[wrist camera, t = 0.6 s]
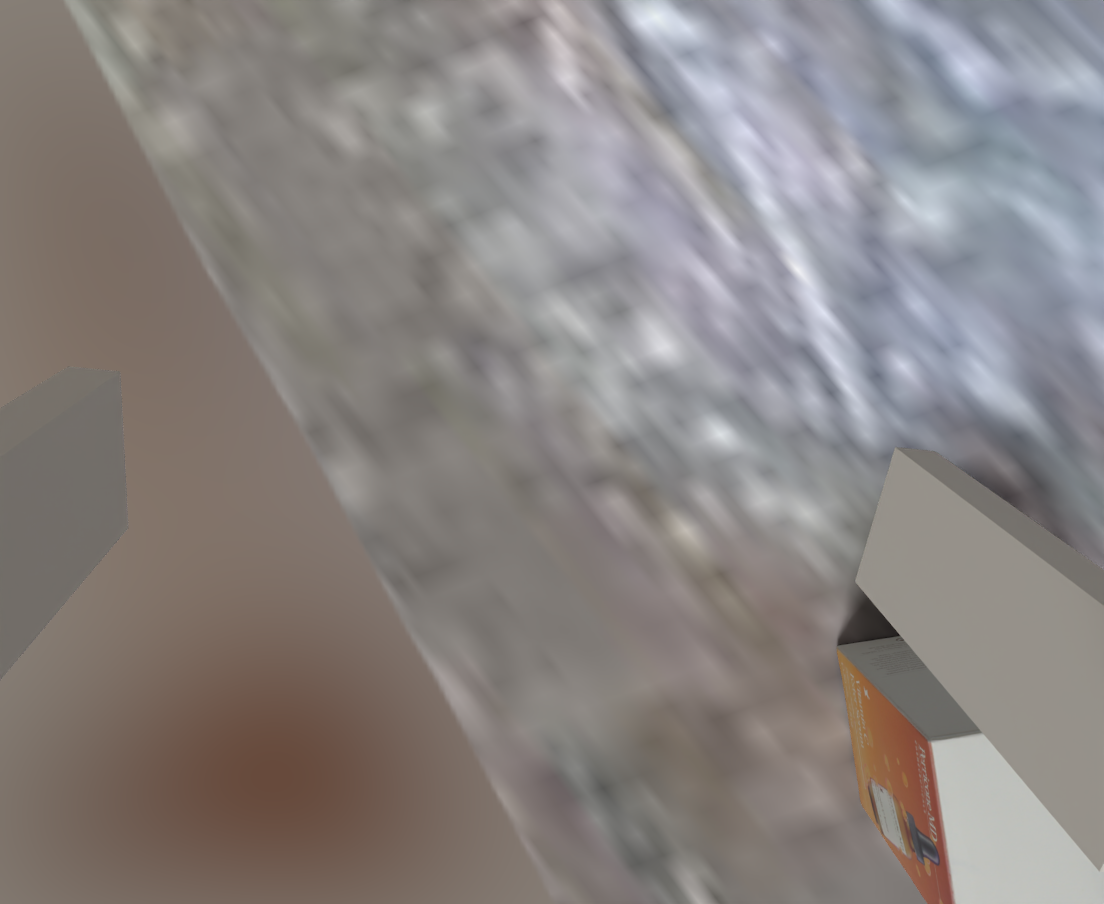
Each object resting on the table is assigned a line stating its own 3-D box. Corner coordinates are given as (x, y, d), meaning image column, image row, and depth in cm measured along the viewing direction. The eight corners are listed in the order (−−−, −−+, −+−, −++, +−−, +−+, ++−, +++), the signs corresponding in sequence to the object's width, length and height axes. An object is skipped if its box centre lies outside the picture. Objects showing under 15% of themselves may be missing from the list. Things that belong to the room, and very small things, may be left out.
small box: (833, 642, 39) (925, 734, 28) (955, 624, 38) (1095, 710, 28) (858, 808, 39) (958, 959, 29) (979, 791, 39) (1125, 938, 28)
